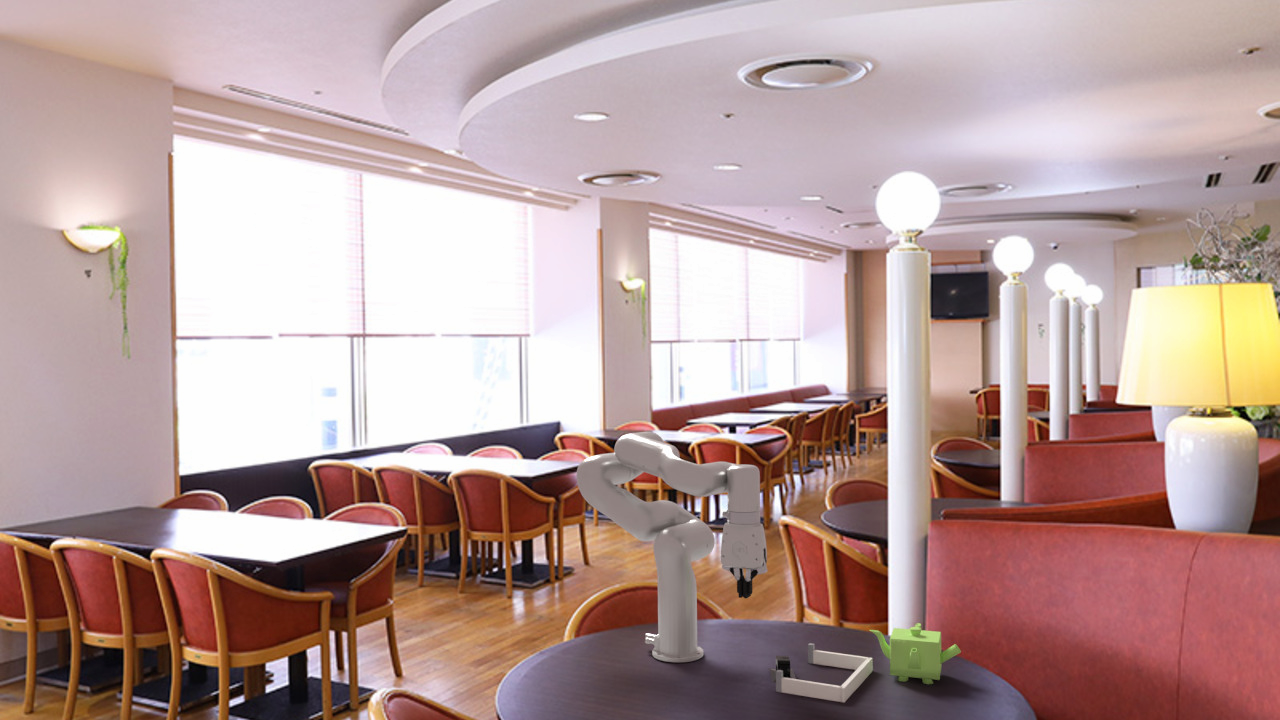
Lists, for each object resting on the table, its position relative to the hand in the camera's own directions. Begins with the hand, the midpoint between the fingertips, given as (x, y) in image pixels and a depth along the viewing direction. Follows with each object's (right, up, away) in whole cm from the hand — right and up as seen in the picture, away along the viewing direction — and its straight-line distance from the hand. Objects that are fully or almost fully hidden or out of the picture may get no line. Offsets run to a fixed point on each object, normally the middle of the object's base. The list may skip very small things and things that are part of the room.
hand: (744, 596), depth 223 cm
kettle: (+38, -17, -6) cm, 42 cm away
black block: (+8, -18, -4) cm, 20 cm away
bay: (+17, -17, -8) cm, 26 cm away
